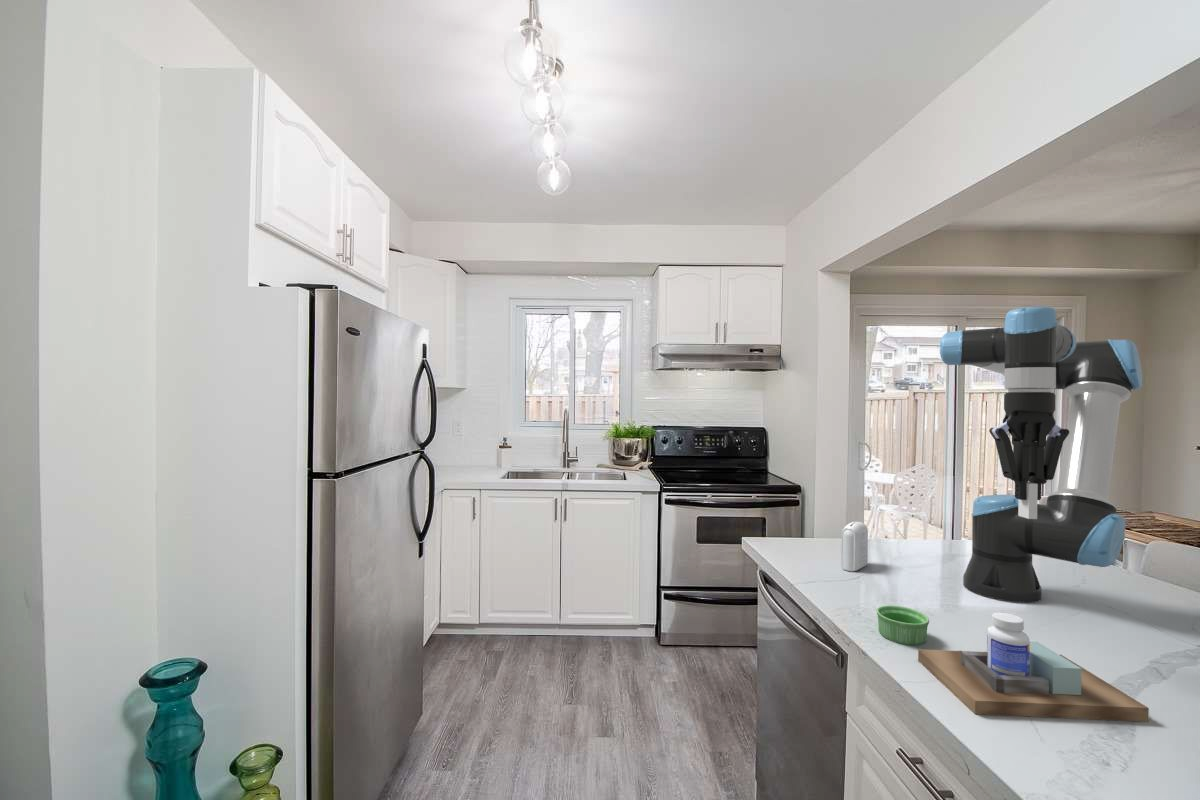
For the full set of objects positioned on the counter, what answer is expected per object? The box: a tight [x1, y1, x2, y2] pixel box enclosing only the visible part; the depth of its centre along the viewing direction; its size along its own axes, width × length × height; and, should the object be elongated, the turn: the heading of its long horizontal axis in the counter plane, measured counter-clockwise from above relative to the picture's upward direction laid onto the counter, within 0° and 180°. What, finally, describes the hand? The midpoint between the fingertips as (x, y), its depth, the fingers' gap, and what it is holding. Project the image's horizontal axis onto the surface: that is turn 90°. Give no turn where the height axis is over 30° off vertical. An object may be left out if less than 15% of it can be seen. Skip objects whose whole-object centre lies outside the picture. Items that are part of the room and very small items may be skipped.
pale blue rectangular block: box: [1029, 640, 1081, 695], centre depth 85 cm, size 4×9×4 cm, turn 176°
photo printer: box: [840, 521, 869, 572], centre depth 147 cm, size 10×4×12 cm, turn 134°
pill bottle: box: [986, 612, 1031, 677], centre depth 86 cm, size 5×5×10 cm
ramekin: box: [876, 605, 930, 646], centre depth 105 cm, size 9×9×4 cm
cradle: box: [917, 649, 1150, 723], centre depth 86 cm, size 24×16×4 cm, turn 86°
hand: (1027, 517), depth 100 cm, fingers closed
